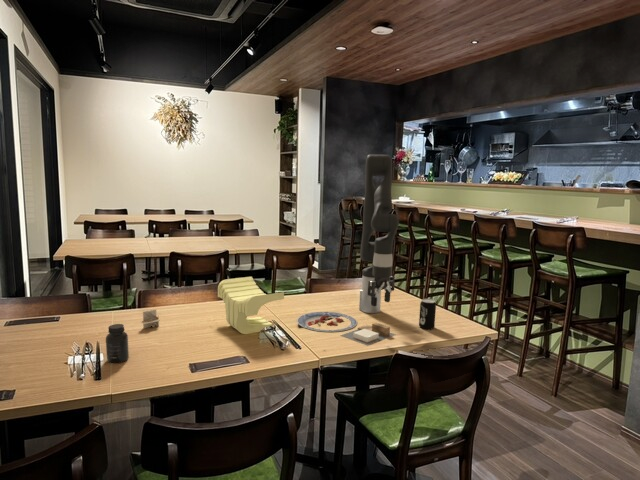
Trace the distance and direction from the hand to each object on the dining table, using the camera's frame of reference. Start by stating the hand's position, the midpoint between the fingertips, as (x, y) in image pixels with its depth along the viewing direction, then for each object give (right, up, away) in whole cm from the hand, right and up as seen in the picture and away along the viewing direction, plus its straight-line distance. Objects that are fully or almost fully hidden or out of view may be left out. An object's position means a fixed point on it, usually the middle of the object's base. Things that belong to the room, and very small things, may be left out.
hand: (380, 303), depth 181 cm
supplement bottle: (-93, -15, -27) cm, 98 cm away
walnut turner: (-2, -12, +3) cm, 12 cm away
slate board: (-5, -14, -1) cm, 15 cm away
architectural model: (-94, -11, +5) cm, 94 cm away
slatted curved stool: (-54, -11, +8) cm, 56 cm away
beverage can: (+22, -13, +15) cm, 29 cm away
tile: (-9, -11, -2) cm, 14 cm away
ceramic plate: (-21, -12, +14) cm, 28 cm away
